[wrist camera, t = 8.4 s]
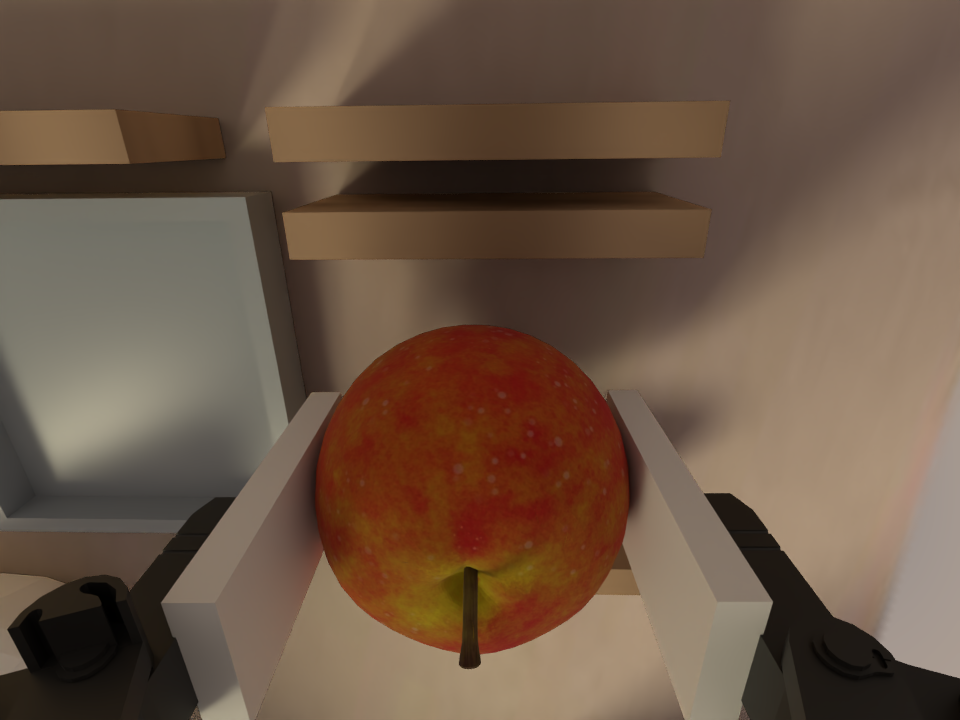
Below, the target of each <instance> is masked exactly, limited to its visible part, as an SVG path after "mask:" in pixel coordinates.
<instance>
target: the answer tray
mask: <svg viewBox="0 0 960 720" xmlns="http://www.w3.org/2000/svg"><path fill="white" fill-rule="evenodd" d="M305 401H306V395H305V389H304V383H303V377H302V371H301V365H300V359H299V354H298V348H297V342H296V336H295V330H294V324H293V319H292V313H291V307H290V301H289V295H288V289H287V284H286V278H285V272H284V266H283V260H282V254H281V248H280V243H279V237H278V231H277V225H276V219H275V213H274V208H273V202H272V196H271V192H164V193H53V194H0V531H21V532H107V533H177V532H178V531H179V530H180V528H181V527H182V526H183V525H184V523H185V522H186V521H187V520H188V519H189V517H190V516H191V515H192V514H193V513H194V512H196V511H197V510H198V509H200V508H201V507H203V506H204V505H205V504H207V503H208V502H210V501H211V500H212V499H214V498H215V497H237V496H238V495H239V493H240V492H241V490H242V489H243V488H244V486H245V485H246V483H247V482H248V481H249V479H250V478H251V476H252V475H253V474H254V472H255V471H256V469H257V468H258V467H259V465H260V464H261V462H262V461H263V460H264V458H265V457H266V455H267V454H268V453H269V451H270V450H271V448H272V447H273V446H274V444H275V443H276V441H277V440H278V439H279V437H280V436H281V434H282V433H283V432H284V430H285V429H286V427H287V426H288V425H289V423H290V422H291V420H292V419H293V418H294V416H295V415H296V413H297V412H298V411H299V409H300V408H301V407H302V405H303V404H304V402H305Z"/></svg>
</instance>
